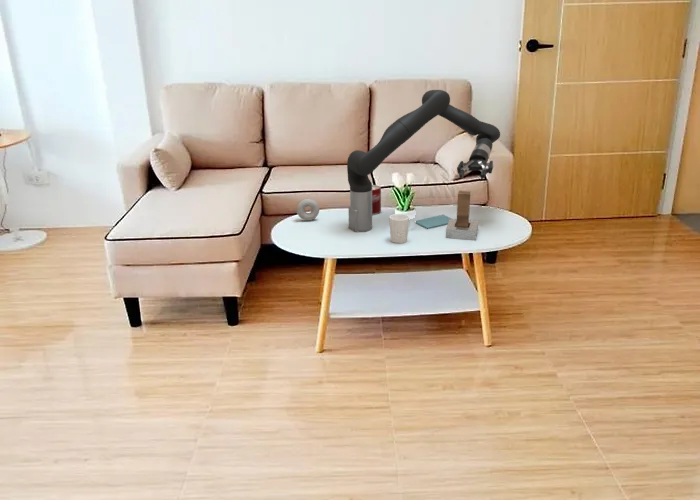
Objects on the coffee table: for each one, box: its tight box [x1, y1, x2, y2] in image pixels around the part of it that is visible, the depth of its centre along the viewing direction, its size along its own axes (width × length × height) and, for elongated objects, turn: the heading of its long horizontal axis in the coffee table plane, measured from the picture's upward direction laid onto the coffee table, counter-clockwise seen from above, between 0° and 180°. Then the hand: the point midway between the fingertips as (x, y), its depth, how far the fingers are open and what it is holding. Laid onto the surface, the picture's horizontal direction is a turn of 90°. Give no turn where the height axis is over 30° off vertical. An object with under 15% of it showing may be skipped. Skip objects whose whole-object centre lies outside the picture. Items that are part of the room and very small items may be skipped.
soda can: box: [372, 184, 382, 215], centre depth 284 cm, size 7×7×12 cm
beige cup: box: [389, 213, 410, 244], centre depth 253 cm, size 8×8×10 cm
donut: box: [296, 198, 320, 222], centre depth 276 cm, size 10×4×10 cm, turn 98°
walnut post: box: [456, 190, 472, 228], centre depth 256 cm, size 5×5×18 cm
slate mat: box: [415, 214, 453, 230], centre depth 273 cm, size 16×10×1 cm, turn 119°
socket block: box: [445, 218, 479, 241], centre depth 259 cm, size 12×12×4 cm
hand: (471, 177), depth 255 cm, fingers open, 8 cm apart
